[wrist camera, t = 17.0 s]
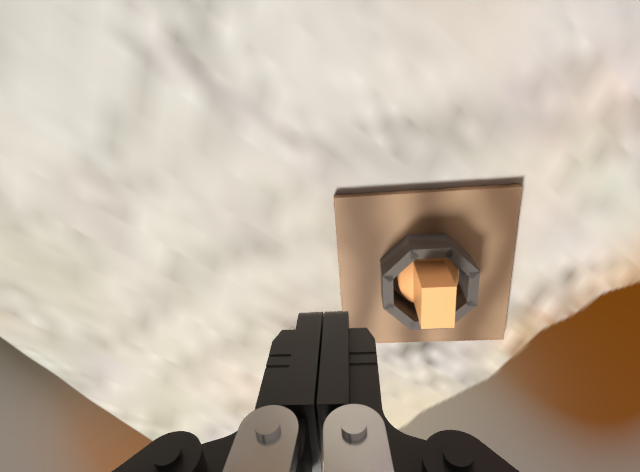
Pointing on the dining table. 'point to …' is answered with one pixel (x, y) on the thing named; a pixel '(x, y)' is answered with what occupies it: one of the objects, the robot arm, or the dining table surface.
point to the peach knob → (431, 291)
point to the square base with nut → (427, 257)
